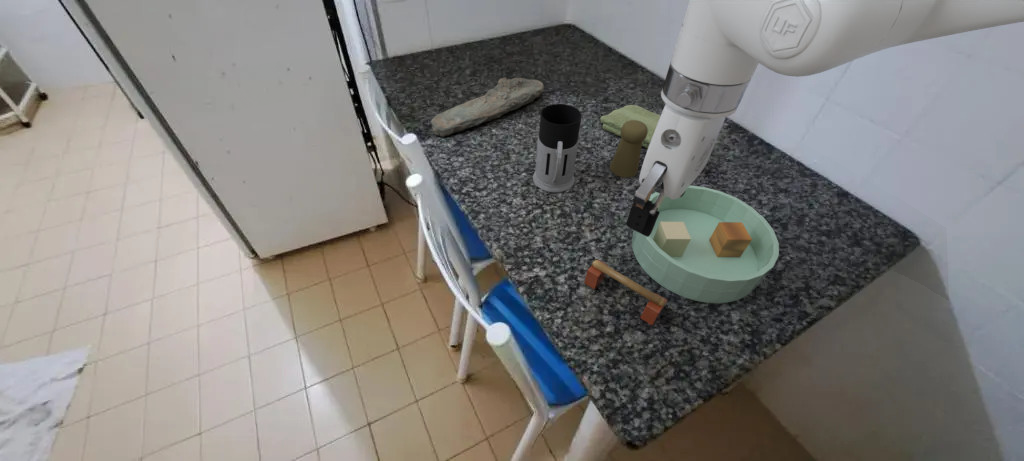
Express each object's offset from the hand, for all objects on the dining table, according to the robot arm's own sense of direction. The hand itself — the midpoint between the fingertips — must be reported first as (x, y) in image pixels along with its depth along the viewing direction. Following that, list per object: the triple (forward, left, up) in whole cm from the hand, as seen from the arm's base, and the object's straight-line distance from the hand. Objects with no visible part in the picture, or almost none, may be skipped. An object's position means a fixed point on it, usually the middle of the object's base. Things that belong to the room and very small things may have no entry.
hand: (655, 210), depth 51 cm
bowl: (-6, -14, -16) cm, 22 cm away
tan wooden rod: (-1, +3, -12) cm, 13 cm away
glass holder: (+23, -12, -17) cm, 31 cm away
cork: (+15, -27, -17) cm, 35 cm away
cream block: (-2, -11, -16) cm, 19 cm away
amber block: (-9, -17, -16) cm, 25 cm away
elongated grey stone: (+53, -26, -17) cm, 62 cm away
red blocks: (-1, +3, -16) cm, 17 cm away
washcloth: (+19, -43, -17) cm, 50 cm away
